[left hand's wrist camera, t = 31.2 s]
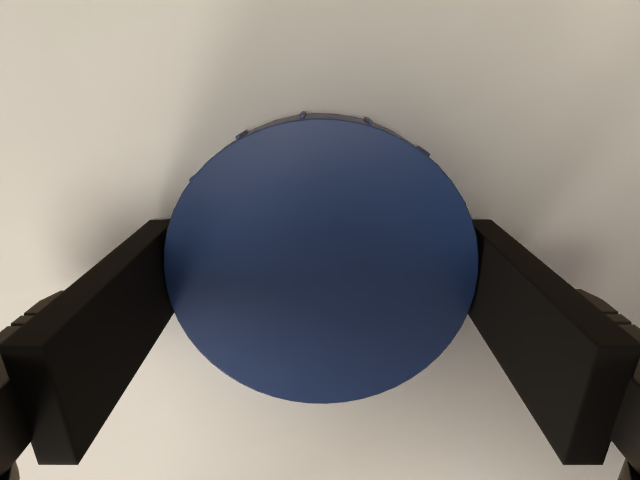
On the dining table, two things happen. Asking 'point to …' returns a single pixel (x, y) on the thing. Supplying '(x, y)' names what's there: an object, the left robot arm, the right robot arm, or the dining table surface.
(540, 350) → the left robot arm
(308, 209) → the lid
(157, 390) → the dining table surface
